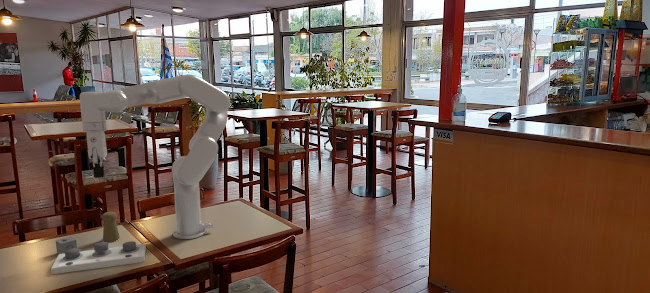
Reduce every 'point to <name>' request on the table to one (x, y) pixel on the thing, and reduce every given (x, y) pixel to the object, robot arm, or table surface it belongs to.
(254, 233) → the table surface
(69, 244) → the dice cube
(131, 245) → the button
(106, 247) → the middle button
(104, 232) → the cork
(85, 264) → the button board
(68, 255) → the button
